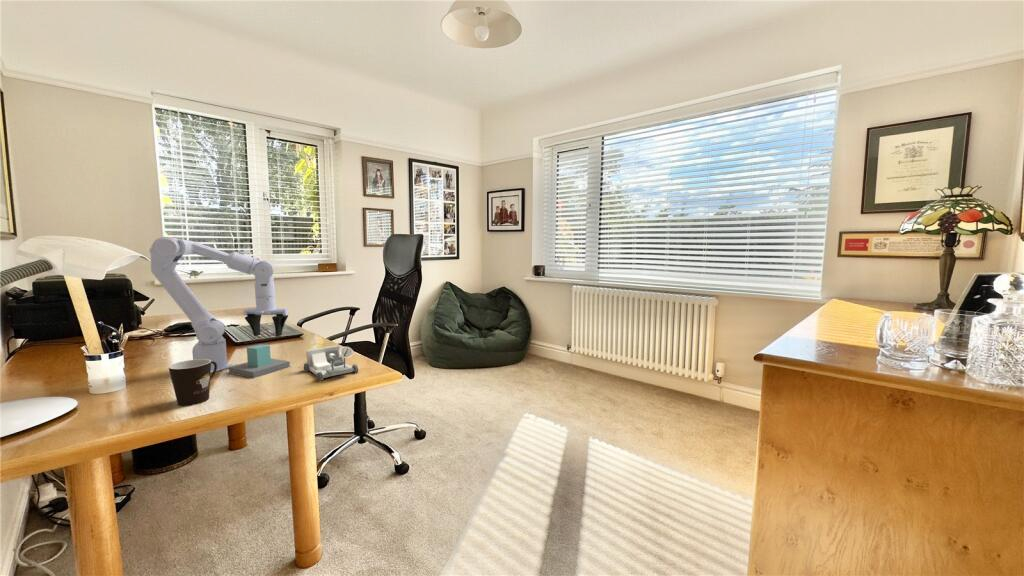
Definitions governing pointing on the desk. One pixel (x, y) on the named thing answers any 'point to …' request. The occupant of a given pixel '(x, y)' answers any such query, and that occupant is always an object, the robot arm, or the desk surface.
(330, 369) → the toy car
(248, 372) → the slate base
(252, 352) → the teal block
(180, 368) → the coffee mug
